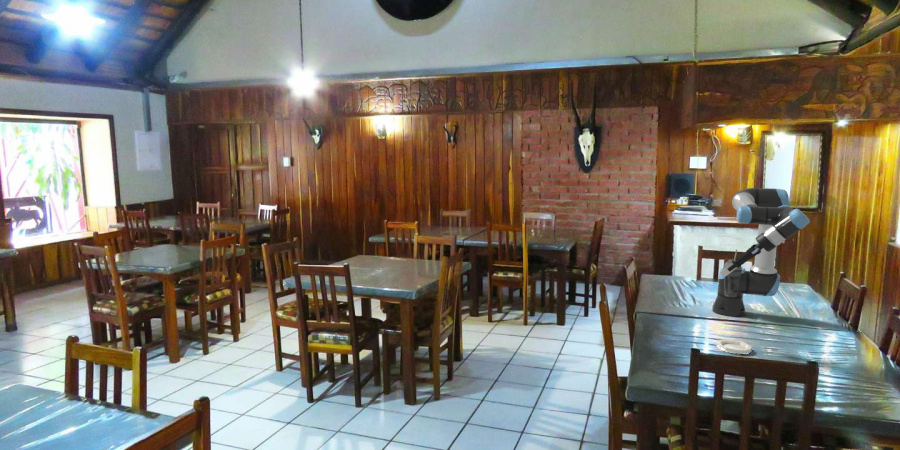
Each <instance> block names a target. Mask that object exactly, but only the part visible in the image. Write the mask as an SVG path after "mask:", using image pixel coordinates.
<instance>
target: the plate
mask: <svg viewBox="0 0 900 450" xmlns="http://www.w3.org/2000/svg"><path fill="white" fill-rule="evenodd" d="M717 348H718V350H719V349H720V350H723V351H726V352H730V353H747V352H748V353H749V352H751V353H752V352H753V351H752V346H751V345H750V344H749V343H746V342H744V341H739V340H736V339H735V340H734V339H720V340H718V341H717V343H716V349H717ZM720 350H719V351H720ZM723 351H722V352H723ZM726 352H725V353H726Z"/></svg>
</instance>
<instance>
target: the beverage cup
mask: <svg viewBox="0 0 900 450" xmlns="http://www.w3.org/2000/svg"><path fill="white" fill-rule="evenodd" d="M737 254H738V249H735V254H734V257H733V258H734V259H729V260H727V261H726V262H725V263H724V264H723V267H722V268H723V269H725V268H726V267H727V266H729V265H730V264H732V261H734V262H735V261H736V258H737ZM738 264H739V263H738ZM742 267H743V266H742V265H741V266H740V267H739V268H737V269H735V270H734V271H732V272H731V273H730V274H728V275H727V276H725V277H724V294H725V296H727V297H736V295H737V291H738V285H739V280H740V275H741V272H742Z"/></svg>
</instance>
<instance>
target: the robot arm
mask: <svg viewBox="0 0 900 450" xmlns="http://www.w3.org/2000/svg"><path fill="white" fill-rule="evenodd" d="M731 206H732V207H733V209H735V211H736V222H737V223H738V224H743V225H744V224H745V225H747V224H748V225H751V224H752V225H758V229H757V230H758V231H757V236H756V237H755V240H756V244H754V243H753V244H752V245H751V246H750V247H749V248H748V249H747V250H746V251H745V252H743V253H742V254H740V255H739V256H736V261H735V262H734V261H732V264H730V265H729V266H727V267H726V268H725V269H723V267H722V268H721V269H720V270H719V272H718V273H719V274H718V277H717V278H718V283H717V295H716V298H715V300H714V301H713V305H712V309H711V310H712V312H713V313H716V314H719V315H721V316H725V317H726V316H728V317H744V316H745V315H746V307H745V303H744V299H743V298H744V296H743V295H752V296H753V295H754V296H761V297H774V296H775V295H777V293H778V291H779V288H780V283H781V281H780V280H781V275H780V274H779V273H778V270H777V269H776V268H775V261H776V254H777V246H779V245H781V244H785V241H786V240H788V239H790V238H791V237H792V236H794V235H795V234H797V233H798V232H799V231H800V230H802V229H804V228H805V227H806V226H807V225H808V224H810V219H809V217H808V216H807V215H806V214H805V213H804V212H802V210H800V209H799V208H795V209H794V208H793V207H791V206H790V198H789V193H788V191H787V190H785V189H781V188H768V187H767V188H765V187H764V188H762V187H761V188H756V187H749V188H744V189H742V190H739V191H737V192H736V193H734V195H733V196H732V197H731ZM752 258H754V264H753V265H751V266H750V269H749V270H746V268H745V267H743V266H742V265H744V264H746V262H748V261H749V260H751V259H752ZM738 263H739V264H738ZM740 266H741V267H742V272H741V275H740V280H739V285H738V291H737V295H736V297H727V296H725V294H724V277H725V276H727V275H728V274H730V273H731V272H732V271H734V270H735V269H737V268H739V267H740Z"/></svg>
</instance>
